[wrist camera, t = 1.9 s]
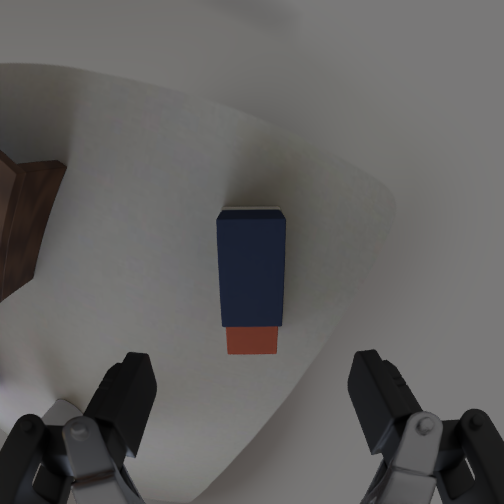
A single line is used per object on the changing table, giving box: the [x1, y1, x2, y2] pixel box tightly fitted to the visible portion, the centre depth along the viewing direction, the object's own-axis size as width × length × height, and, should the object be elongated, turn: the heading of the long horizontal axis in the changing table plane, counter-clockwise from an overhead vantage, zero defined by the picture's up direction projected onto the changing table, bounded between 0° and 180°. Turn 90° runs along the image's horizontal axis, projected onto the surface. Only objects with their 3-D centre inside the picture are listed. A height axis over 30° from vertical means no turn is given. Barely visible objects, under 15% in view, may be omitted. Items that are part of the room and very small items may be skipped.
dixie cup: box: [41, 399, 83, 425], centre depth 27 cm, size 8×8×10 cm
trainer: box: [216, 206, 286, 354], centre depth 22 cm, size 12×5×5 cm, turn 0°
